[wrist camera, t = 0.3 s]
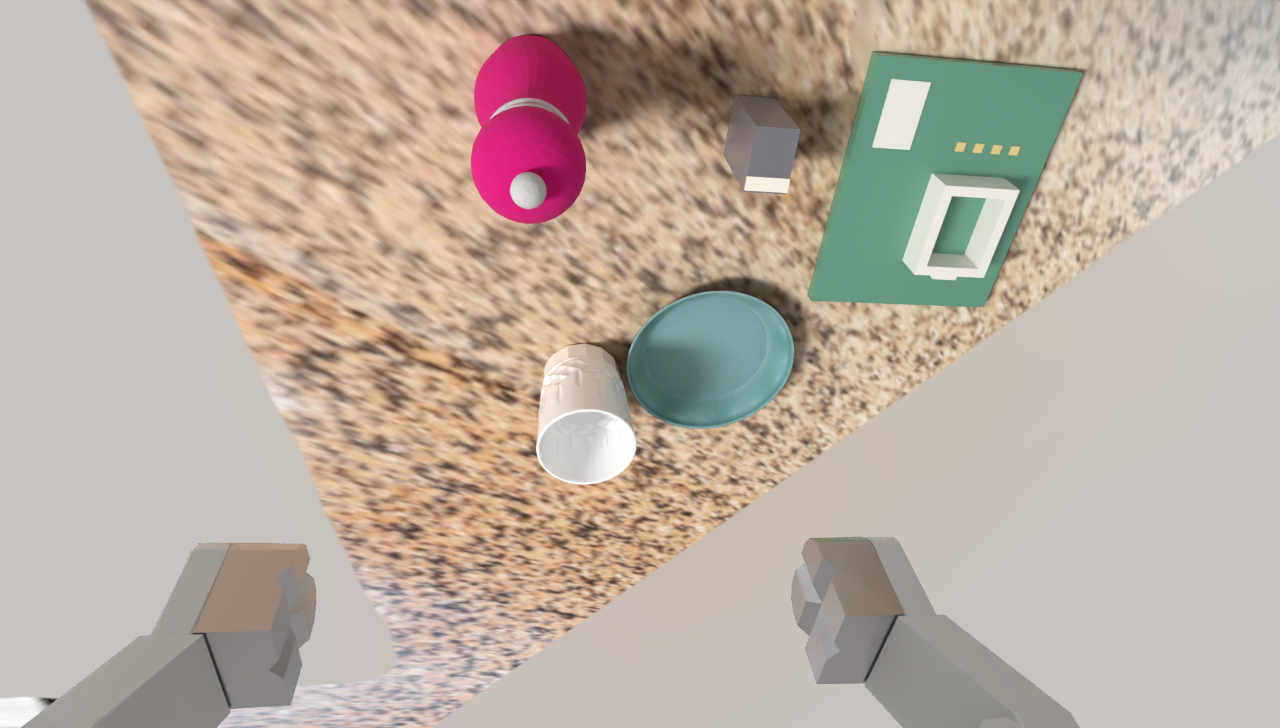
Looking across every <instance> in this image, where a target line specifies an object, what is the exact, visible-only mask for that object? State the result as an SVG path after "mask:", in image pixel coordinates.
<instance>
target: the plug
mask: <svg viewBox="0 0 1280 728" xmlns="http://www.w3.org/2000/svg"><path fill="white" fill-rule="evenodd" d="M800 131H801V129H800V128H799V127H798V125H797V124H796V123H795V122H794V121H793V119H792V118H791V117H790V116H789V115H788V114H787V112H786V111H785V110H784V109H783V108H782V107H781V105H780V104H779V103H778V102H777V101H776V100H775V98H771V97H758V96H745V95H734V98H733V104H732V110H731V115H730V121H729V127H728V133H727V138H726V144H725V150H724V157H725V159H726V160H727V162H728V164H729V166H730V168H731V169H732V171H733V173H734V175H735V177H736V178H737V180H738V182H739V184H740V186H741V187H742V189H743V191H744V192H757V193H774V194H786V193H787V191H788V187H789V183H790V175H791V170H792V166H793V162H794V157H795V153H796V149H797V144H798V140H799V136H800Z"/></svg>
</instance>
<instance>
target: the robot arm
mask: <svg viewBox="0 0 1280 728" xmlns="http://www.w3.org/2000/svg"><path fill="white" fill-rule="evenodd" d="M802 555H803V558H804V561H805V564H803V565H802V566H801V567H800V568H798V569H797V570H796V571H795V574H794V578H793V581H792V596H791V600H792V606H793V612H794V615H795V619H796V622H797V625H798V626H799V627H800V628H801V629H802V630H803V631H805V632H806V633H807V634H808V635H809V639H808V642H807V644H806V647H805V650H806V653H807V656H808V659H809V662H810V665H811V668H812V671H813V674H814V677H815V680H816V683H817V684H842V683H843V684H845V683H866V684H865V687H866V688H867V689H868V690H869V691H870V692H871V693H872V695H874V697H875V698H876V699H877V700H878V701H879V702H880V703H881V704H882V705H883V706H884V708H885V709H886V710H887V711H888V712H889V713H890V714H891V715H892V716H893V717H894V718H895V719H896V721H897V722H898V723H899V724H900V725H901V726H902V727H903V728H1079V726H1078V725H1077V723H1076V721H1075V719H1074V718H1073V716H1072V714H1071V713H1070V712H1069V711H1068V710H1066V709H1065V708H1064V707H1062V706H1061V705H1060V704H1058V703H1057V702H1056V701H1055V700H1053V699H1052V698H1051V697H1050V696H1048V695H1047V694H1046V693H1044V692H1043V691H1042V690H1041V689H1039V688H1038V687H1037V686H1035V685H1034V684H1033V683H1032V682H1030V681H1029V680H1028V679H1026V678H1025V677H1024V676H1023V675H1021V674H1020V673H1019V672H1017V671H1016V670H1015V669H1013V668H1012V667H1011V666H1010V665H1008V664H1007V663H1006V662H1005V661H1003V660H1002V659H1001V658H999V657H998V656H997V655H996V654H994V653H993V652H992V651H990V650H989V649H988V648H987V647H985V646H984V645H983V644H981V643H980V642H979V641H977V640H976V639H975V638H974V637H972V636H971V635H970V634H969V633H967V632H966V631H965V630H963V629H962V628H961V627H960V626H958V625H957V624H956V623H954V622H953V621H952V620H951V619H949V618H948V617H947V616H945V615H936V613H935V611H934V609H933V607H932V605H931V603H930V601H929V599H928V597H927V595H926V593H925V591H924V589H923V587H922V586H921V584H920V582H919V580H918V578H917V576H916V574H915V572H914V570H913V568H912V566H911V564H910V562H909V561H908V558H907V556H906V554H905V552H904V551H903V549H902V547H901V545H900V543H899V541H898V540H897V539H895V538H894V537H865V538H863V537H835V538H810V539H809V540H808V541H807V542H806V543H805V545H804V548H803V550H802ZM309 560H310V558H309V554H308V550H307V547H306V545H304V544H274V543H273V544H271V543H199V544H198V545H197V546H196V547H195V548H194V549H193V550H192V551H191V553H190V555H189V557H188V559H187V561H186V563H185V565H184V567H183V569H182V572H181V574H180V576H179V578H178V580H177V582H176V584H175V586H174V588H173V590H172V592H171V594H170V597H169V598H168V601H167V603H166V605H165V607H164V609H163V611H162V613H161V615H160V617H159V619H158V621H157V623H156V626H155V628H154V630H153V632H152V634H151V635H150V636H139V637H138V638H137V639H136V640H134V641H133V642H132V643H130V644H129V645H128V646H126V647H125V648H124V649H122V650H121V651H120V652H118V653H117V654H116V655H115V656H113V657H112V658H111V659H109V660H108V661H107V662H105V663H104V664H103V665H101V666H100V667H99V668H98V669H96V670H95V671H94V672H92V673H91V674H90V675H89V676H87V677H86V678H85V679H83V680H82V681H81V682H79V683H78V684H77V685H76V686H74V687H73V688H72V689H70V690H69V691H68V692H66V693H65V694H64V695H63V696H61V697H60V698H59V699H57V700H56V701H55V702H53V703H52V704H51V705H50V706H48V707H47V708H46V709H44V710H43V711H42V712H40V713H39V714H38V715H37V716H35V717H34V718H33V719H31V720H30V721H29V722H27V723H26V724H25V725H24V726H22V727H21V728H217V727H218V725H219V724H220V723H221V722H222V721H223V720H224V719H225V718H226V717H227V716H228V715H229V713H230V709H237V708H252V707H267V706H282V705H291V702H292V699H293V695H294V692H295V688H296V685H297V681H298V678H299V674H300V671H301V667H302V662H301V658H300V654H299V648H300V647H301V646H302V645H303V644H304V643H305V642H307V641H308V640H309V639H310V635H311V631H312V627H313V624H314V617H315V610H316V587H315V582H314V578H313V577H312V576H310V575H309V574H308V573H306V570H307V567H308V564H309Z"/></svg>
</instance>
